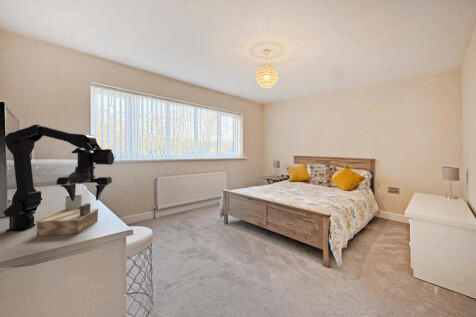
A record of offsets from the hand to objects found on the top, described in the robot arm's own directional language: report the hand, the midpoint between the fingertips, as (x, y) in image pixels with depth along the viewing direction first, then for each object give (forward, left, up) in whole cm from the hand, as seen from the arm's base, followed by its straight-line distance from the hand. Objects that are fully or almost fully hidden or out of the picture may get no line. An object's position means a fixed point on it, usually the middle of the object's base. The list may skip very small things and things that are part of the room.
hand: (85, 200), depth 89 cm
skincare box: (-10, +12, -12) cm, 20 cm away
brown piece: (-5, 0, -12) cm, 13 cm away
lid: (-5, 0, -6) cm, 8 cm away
